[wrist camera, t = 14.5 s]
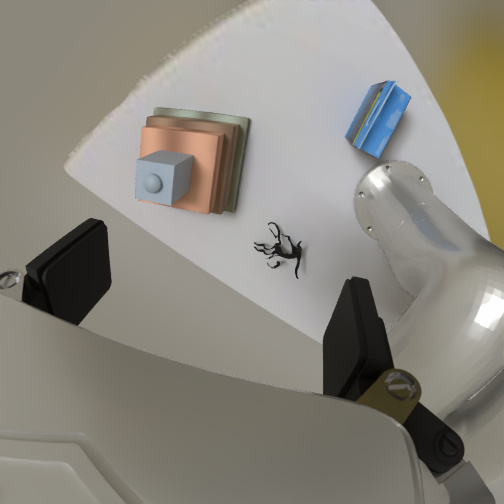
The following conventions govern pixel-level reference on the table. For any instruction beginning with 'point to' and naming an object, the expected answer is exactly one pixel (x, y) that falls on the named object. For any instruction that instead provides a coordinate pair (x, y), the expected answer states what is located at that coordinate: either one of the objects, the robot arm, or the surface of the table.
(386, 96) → the label tape box
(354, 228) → the table surface
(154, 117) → the stepped plate stack
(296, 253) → the creature
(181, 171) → the slate brick
